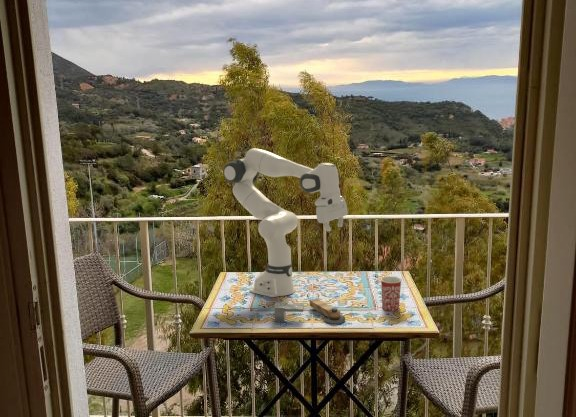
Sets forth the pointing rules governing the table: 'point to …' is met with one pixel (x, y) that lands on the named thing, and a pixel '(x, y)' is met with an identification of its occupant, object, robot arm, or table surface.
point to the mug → (390, 293)
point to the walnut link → (325, 309)
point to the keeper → (285, 310)
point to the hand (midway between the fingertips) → (334, 229)
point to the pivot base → (331, 321)
